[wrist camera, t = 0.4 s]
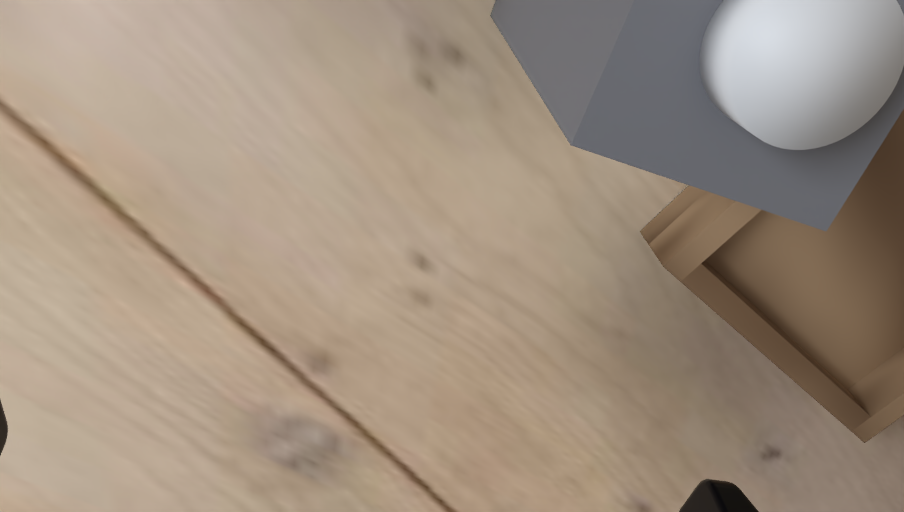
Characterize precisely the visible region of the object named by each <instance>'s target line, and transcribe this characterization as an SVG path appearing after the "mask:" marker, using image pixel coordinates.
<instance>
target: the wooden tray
mask: <svg viewBox="0 0 904 512" xmlns="http://www.w3.org/2000/svg"><path fill="white" fill-rule="evenodd" d="M640 232H641V234H642V235H643V237H644V238H645V240H646V241H647V243H648V244H649V246H650V247H651V249H652V250H653V252H654V253H655V255H656V256H657V258H658V259H659V261H660V262H661V264H662V265H663V267H664V268H666V269H667V270H668V271H669V272H670V273H671V274H672V275H674V276H675V277H676V278H677V279H678V280H679V281H680V282H682V283H683V284H684V285H685V286H686V287H687V288H688V289H690V290H691V291H692V292H693V293H694V294H695V295H696V296H698V297H699V298H700V299H701V300H702V301H703V302H704V303H706V304H707V305H708V306H709V307H710V308H711V309H712V310H714V311H715V312H716V313H717V314H718V315H719V316H720V317H721V318H723V319H724V320H725V321H726V322H727V323H728V324H729V325H731V326H732V327H733V328H734V329H735V330H736V331H737V332H739V333H740V334H741V335H742V336H743V337H744V338H745V339H747V340H748V341H749V342H750V343H751V344H752V345H753V346H755V347H756V348H757V349H758V350H759V351H760V352H761V353H763V354H764V355H765V356H766V357H767V358H768V359H769V360H771V361H772V362H773V363H774V364H775V365H776V366H777V367H779V368H780V369H781V370H782V371H783V372H784V373H785V374H787V375H788V376H789V377H790V378H791V379H792V380H793V381H794V382H796V383H797V384H798V385H799V386H800V387H801V388H802V389H804V390H805V391H806V392H807V393H808V394H809V395H810V396H812V397H813V398H814V399H815V400H816V401H817V402H818V403H820V404H821V405H822V406H823V407H824V408H825V409H826V410H828V411H829V412H830V413H831V414H832V415H833V416H834V417H836V418H837V419H838V420H839V421H840V422H841V423H842V424H844V425H845V426H846V427H847V428H848V429H849V430H850V431H852V432H853V433H854V434H855V435H856V436H857V437H858V438H860V439H861V440H862V441H863V442H864V443H865V442H867V441H868V440H869V439H871V438H872V437H874V436H875V435H876V434H878V433H879V432H881V431H882V430H883V429H885V428H886V427H888V426H889V425H890V424H892V423H893V422H895V421H896V420H897V419H899V418H900V417H902V416H903V415H904V109H903V111H902V112H901V114H900V116H899V117H898V119H897V120H896V122H895V124H894V125H893V127H892V128H891V130H890V131H889V133H888V135H887V136H886V138H885V139H884V141H883V143H882V144H881V146H880V147H879V149H878V150H877V152H876V154H875V155H874V157H873V158H872V160H871V162H870V163H869V165H868V166H867V168H866V169H865V171H864V173H863V174H862V176H861V177H860V179H859V181H858V182H857V184H856V185H855V187H854V188H853V190H852V192H851V193H850V195H849V196H848V198H847V200H846V201H845V203H844V204H843V206H842V208H841V209H840V211H839V212H838V214H837V215H836V217H835V219H834V220H833V222H832V223H831V225H830V227H829V228H828V230H827V231H823V230H820V229H817V228H814V227H811V226H808V225H805V224H802V223H800V222H797V221H794V220H791V219H788V218H785V217H782V216H779V215H776V214H773V213H770V212H767V211H764V210H761V209H758V208H755V207H752V206H749V205H746V204H743V203H740V202H737V201H734V200H731V199H728V198H726V197H723V196H720V195H717V194H714V193H711V192H708V191H705V190H702V189H699V188H696V187H693V186H690V185H689V186H688V187H687V188H686V189H685V190H684V191H683V192H682V193H680V194H679V195H678V196H677V197H676V198H675V199H674V200H673V201H672V202H671V203H670V204H669V205H668V206H667V207H665V208H664V209H663V210H662V211H661V212H660V213H659V214H658V215H657V216H656V217H655V218H654V219H653V220H652V221H651V222H649V223H648V224H647V225H646V226H645V227H644V228H643V229H642V230H641V231H640Z"/></svg>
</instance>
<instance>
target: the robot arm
mask: <svg viewBox="0 0 904 512" xmlns="http://www.w3.org/2000/svg"><path fill="white" fill-rule="evenodd" d="M7 433H8V426H7V421H6V417H5V414H4V411H3V407H2V404H1V400H0V455H1V453H2V450H3V448H4V445H5V442H6V439H7ZM679 512H758V511H757V509H756V508H755V507H754V506H753V504H752V503H751V502H750V501H749V500H748V498H747V497H746V496H745V495H744V493H743V492H742V491H741V490H740V489H739V488H738V487H737V486H736V485H734V484H733V483H730V482H726V481H718V480H711V479H705V480H703V481H701V482H700V483H699V484H698V486H697V487H696V488H695V490H694V491H693V492H692V494H691V495H690V497H689V498H688V499H687V501H686V502H685V503H684V505H683V506H682V507H681V509H680V511H679Z"/></svg>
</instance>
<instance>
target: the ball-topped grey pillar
mask: <svg viewBox="0 0 904 512" xmlns="http://www.w3.org/2000/svg"><path fill="white" fill-rule="evenodd" d="M490 16H491V18H492V19H493V21H494V23H495V24H496V26H497V27H498V29H499V31H500V32H501V34H502V35H503V37H504V39H505V40H506V42H507V43H508V45H509V47H510V48H511V50H512V51H513V53H514V55H515V56H516V58H517V59H518V61H519V63H520V64H521V66H522V68H523V69H524V71H525V72H526V74H527V76H528V77H529V79H530V80H531V82H532V84H533V85H534V87H535V88H536V90H537V92H538V93H539V95H540V96H541V98H542V100H543V101H544V103H545V104H546V106H547V108H548V109H549V111H550V112H551V114H552V116H553V117H554V119H555V121H556V122H557V124H558V125H559V127H560V129H561V130H562V132H563V133H564V135H565V137H566V138H567V140H568V141H569V143H570V145H572V146H575V147H578V148H581V149H584V150H586V151H589V152H592V153H595V154H598V155H601V156H604V157H607V158H610V159H613V160H616V161H619V162H622V163H625V164H628V165H631V166H634V167H637V168H640V169H643V170H646V171H649V172H652V173H655V174H657V175H660V176H663V177H666V178H669V179H672V180H675V181H678V182H681V183H684V184H687V185H690V186H693V187H696V188H699V189H702V190H705V191H708V192H711V193H714V194H717V195H720V196H723V197H726V198H728V199H731V200H734V201H737V202H740V203H743V204H746V205H749V206H752V207H755V208H758V209H761V210H764V211H767V212H770V213H773V214H776V215H779V216H782V217H785V218H788V219H791V220H794V221H797V222H800V223H802V224H805V225H808V226H811V227H814V228H817V229H820V230H823V231H827V230H828V228H829V227H830V225H831V223H832V222H833V220H834V219H835V217H836V215H837V214H838V212H839V211H840V209H841V208H842V206H843V204H844V203H845V201H846V200H847V198H848V196H849V195H850V193H851V192H852V190H853V188H854V187H855V185H856V184H857V182H858V181H859V179H860V177H861V176H862V174H863V173H864V171H865V169H866V168H867V166H868V165H869V163H870V162H871V160H872V158H873V157H874V155H875V154H876V152H877V150H878V149H879V147H880V146H881V144H882V143H883V141H884V139H885V138H886V136H887V135H888V133H889V131H890V130H891V128H892V127H893V125H894V124H895V122H896V120H897V119H898V117H899V116H900V114H901V112H902V111H903V109H904V0H496V1H495V4H494V7H493V10H492V13H491V15H490Z"/></svg>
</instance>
